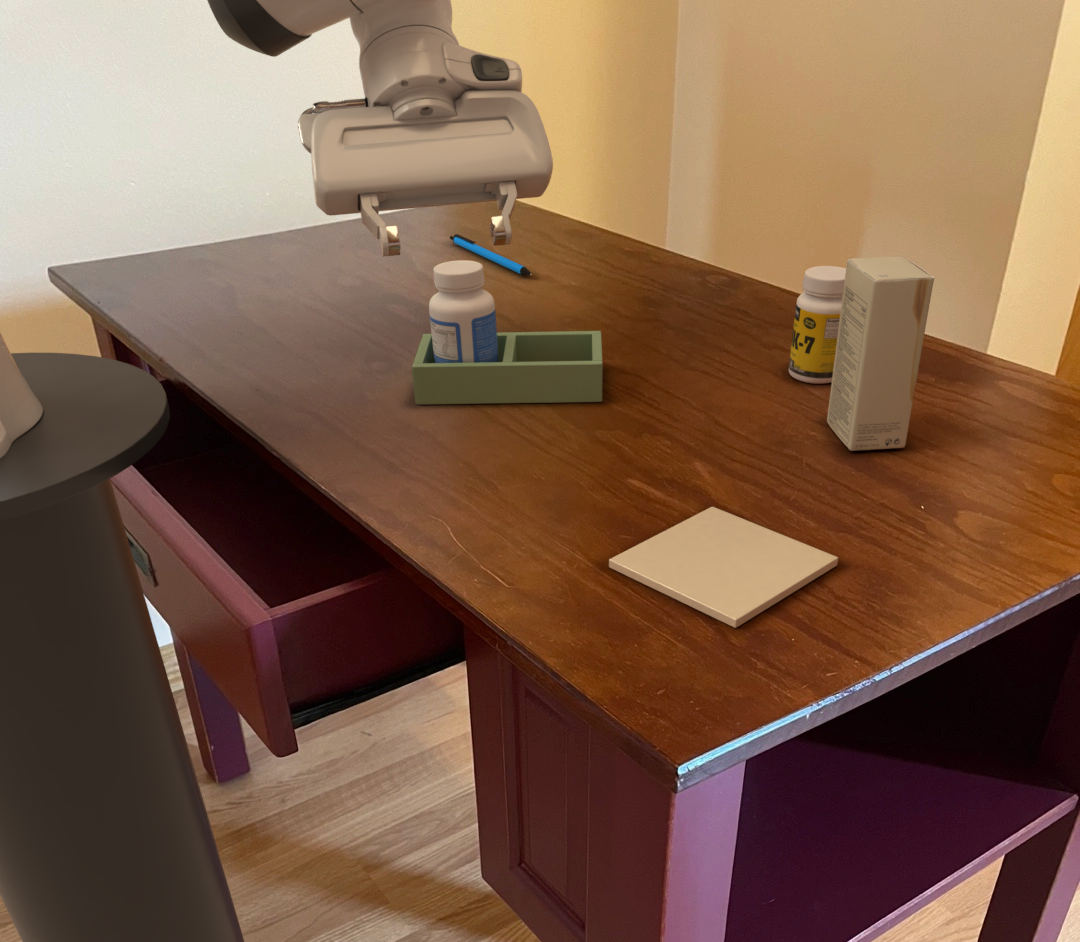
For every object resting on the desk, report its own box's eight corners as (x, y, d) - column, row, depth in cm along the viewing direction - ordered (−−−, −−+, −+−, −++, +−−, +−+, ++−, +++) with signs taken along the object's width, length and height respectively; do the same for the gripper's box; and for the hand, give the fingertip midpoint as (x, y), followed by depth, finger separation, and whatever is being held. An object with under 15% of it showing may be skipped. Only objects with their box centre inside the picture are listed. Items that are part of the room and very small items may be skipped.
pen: (454, 240, 130) (453, 230, 129) (535, 278, 117) (534, 267, 116) (448, 242, 130) (447, 231, 129) (528, 279, 116) (527, 268, 116)
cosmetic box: (906, 450, 80) (939, 278, 72) (848, 453, 80) (875, 281, 72) (878, 416, 85) (906, 252, 78) (823, 420, 85) (846, 255, 77)
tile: (735, 628, 62) (736, 619, 61) (608, 567, 67) (608, 559, 67) (837, 565, 67) (838, 557, 67) (711, 514, 73) (712, 505, 72)
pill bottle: (495, 372, 95) (489, 255, 89) (504, 394, 91) (498, 273, 85) (433, 377, 94) (422, 260, 88) (439, 400, 90) (428, 278, 84)
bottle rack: (602, 402, 89) (602, 363, 87) (415, 405, 89) (411, 366, 87) (600, 367, 95) (601, 330, 93) (426, 370, 96) (423, 333, 94)
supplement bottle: (777, 369, 94) (789, 267, 89) (826, 362, 95) (840, 261, 90) (805, 388, 90) (818, 283, 85) (855, 380, 91) (871, 276, 86)
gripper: (291, 77, 87) (321, 236, 86) (537, 61, 91) (570, 213, 89) (296, 130, 93) (324, 279, 92) (526, 113, 97) (557, 256, 95)
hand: (447, 246), depth 91 cm, fingers open, 8 cm apart
